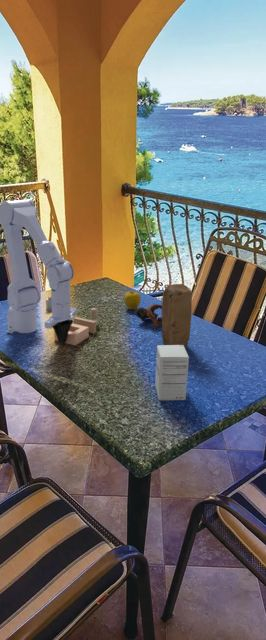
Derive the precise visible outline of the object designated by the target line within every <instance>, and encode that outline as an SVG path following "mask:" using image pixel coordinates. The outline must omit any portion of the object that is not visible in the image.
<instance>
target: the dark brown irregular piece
mask: <svg viewBox="0 0 266 640" xmlns="http://www.w3.org/2000/svg"><path fill="white" fill-rule="evenodd" d="M158 309H161V310H162V304H158V303H155V304H151V305H150V306H148V307H146V308H145V307H138V308H137V309H135V310H134V311H135V315H136V316H137V317H138V318H139V319H140V320H141V322H144V321H146V320H148V319H150V320H151V321H152V324H151V327H152V328H153V329H156V328H158V327H160V326H161V325H162V317H159V314H158V313H155V311H156V310H158Z"/></svg>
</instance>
